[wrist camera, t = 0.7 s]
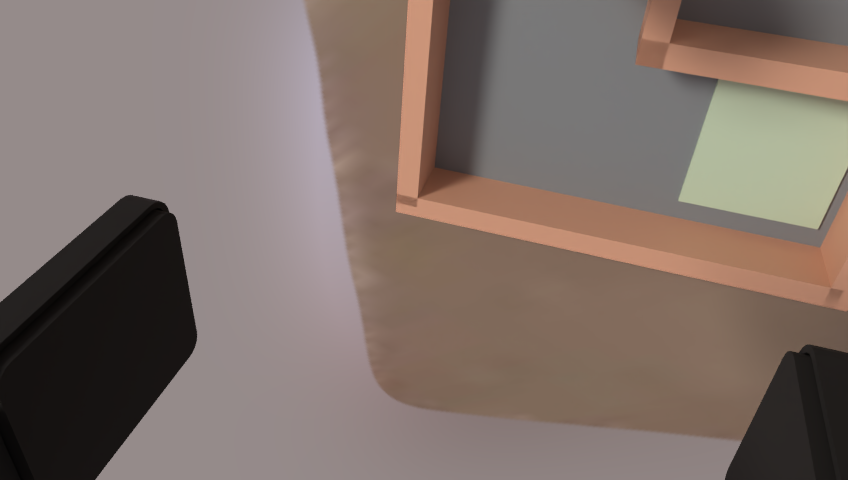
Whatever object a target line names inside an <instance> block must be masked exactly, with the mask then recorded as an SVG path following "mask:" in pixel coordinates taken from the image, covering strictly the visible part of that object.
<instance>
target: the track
mask: <svg viewBox="0 0 848 480" xmlns="http://www.w3.org/2000/svg"><path fill="white" fill-rule="evenodd" d="M396 212H400V213H404V214H409V215H413V216H418V217H422V218H427V219H431V220H436V221H440V222H445V223H449V224H454V225H458V226H463V227H467V228H472V229H476V230H481V231H485V232H490V233H494V234H499V235H503V236H508V237H513V238H517V239H522V240H526V241H531V242H535V243H540V244H544V245H549V246H553V247H558V248H562V249H567V250H571V251H576V252H580V253H585V254H589V255H594V256H598V257H603V258H607V259H612V260H616V261H621V262H625V263H630V264H634V265H639V266H643V267H648V268H652V269H657V270H661V271H666V272H670V273H675V274H679V275H684V276H688V277H693V278H697V279H702V280H706V281H711V282H716V283H720V284H725V285H729V286H734V287H738V288H743V289H747V290H752V291H756V292H761V293H765V294H770V295H774V296H779V297H783V298H788V299H792V300H797V301H801V302H806V303H810V304H815V305H819V306H824V307H828V308H833V309H837V310H842V311H846V312H847V310H848V0H408V13H407V30H406V47H405V64H404V81H403V98H402V115H401V132H400V150H399V167H398V184H397V201H396Z"/></svg>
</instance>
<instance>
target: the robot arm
mask: <svg viewBox="0 0 848 480" xmlns="http://www.w3.org/2000/svg"><path fill="white" fill-rule="evenodd" d="M196 341H197V331H196V325H195V319H194V314H193V308H192V303H191V297H190V292H189V286H188V280H187V275H186V270H185V264H184V258H183V253H182V248H181V242H180V236H179V231H178V225H177V220H176V217H175V216H174V215H173V214H172V213H169V210H168V208H167V206H166V205H165V203H162V202H160V201H155V200H151V199H146V198H142V197H138V196H133V195H128V196H125V197H124V198H122V199H120V200H119V201H118V202H117V203H116V204H115V205H113V206H112V207H111V208H110V209H109V210H108V211H106V212H105V213H104V214H103V215H102V216H100V217H99V218H98V219H97V220H96V221H95V222H93V223H92V224H91V225H90V226H89V227H88V228H86V229H85V230H84V231H83V232H82V233H81V234H79V235H78V236H77V237H76V238H75V239H74V240H72V241H71V242H70V243H69V244H68V245H67V246H66V247H65V248H63V249H62V250H61V251H60V252H59V253H57V254H56V255H55V256H54V257H53V258H52V259H50V260H49V261H48V262H47V263H46V264H45V265H43V266H42V267H41V268H40V269H39V270H38V271H36V273H34V274H33V275H32V276H31V277H29V278H28V279H27V280H26V281H25V282H24V283H23V284H21V285H20V286H19V287H18V288H17V289H15V290H14V291H13V292H12V293H11V294H10V295H9V296H7V297H6V298H5V299H4V300H3V301H1V302H0V480H95V479H96V478H97V476H98V475H99V474H100V473H101V471H102V470H103V469H104V467H105V466H106V465H107V463H108V462H109V461H110V459H111V458H112V457H113V456H114V454H115V453H116V451H117V450H118V449H119V448H120V446H121V445H122V444H123V443H124V441H125V440H126V439H127V437H128V436H129V435H130V433H131V432H132V431H133V429H134V428H135V427H136V426H137V424H138V423H139V422H140V421H141V419H142V418H143V417H144V415H145V414H146V413H147V411H148V410H149V409H150V408H151V406H152V405H153V404H154V402H155V401H156V400H157V398H158V397H159V396H160V394H161V393H162V392H163V391H164V389H165V388H166V387H167V385H168V384H169V383H170V382H171V380H172V379H173V378H174V376H175V375H176V374H177V372H178V371H179V370H180V368H181V367H182V366H183V365H184V363H185V362H186V361H187V359H188V358H189V357H190V355H191V354H192V352H193V350H194V348H195V344H196ZM725 480H848V353H845V352H841V351H836V350H832V349H827V348H823V347H818V346H814V345H805V346H804V347H803V348H802V349H801V351H800V352H799V353H796V352H792V351H788V352H787V353H786V354H785V356H784V357H783V359H782V361H781V363H780V365H779V367H778V369H777V371H776V373H775V375H774V377H773V379H772V381H771V383H770V385H769V387H768V389H767V391H766V393H765V395H764V397H763V400H762V402H761V404H760V406H759V408H758V410H757V412H756V414H755V416H754V418H753V420H752V422H751V424H750V426H749V428H748V430H747V432H746V434H745V436H744V438H743V440H742V442H741V444H740V446H739V448H738V450H737V452H736V454H735V456H734V458H733V460H732V462H731V464H730V466H729V468H728V471H727V474H726V478H725Z"/></svg>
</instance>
